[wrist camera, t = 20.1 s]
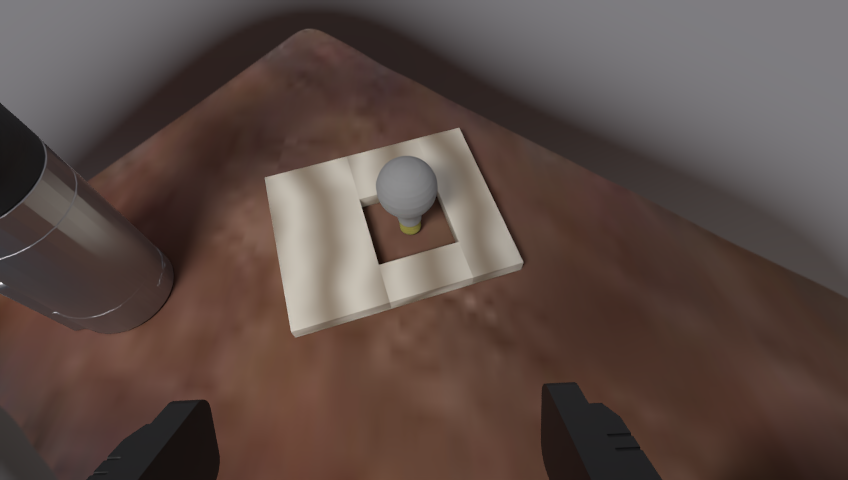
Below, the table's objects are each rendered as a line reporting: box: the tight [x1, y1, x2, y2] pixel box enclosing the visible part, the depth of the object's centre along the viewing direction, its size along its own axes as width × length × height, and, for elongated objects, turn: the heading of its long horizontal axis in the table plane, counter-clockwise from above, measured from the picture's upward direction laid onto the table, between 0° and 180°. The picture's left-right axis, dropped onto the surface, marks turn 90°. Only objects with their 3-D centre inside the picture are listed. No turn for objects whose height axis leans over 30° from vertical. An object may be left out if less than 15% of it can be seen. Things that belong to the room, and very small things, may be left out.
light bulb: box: [376, 156, 438, 235], centre depth 43 cm, size 5×6×10 cm
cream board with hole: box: [265, 128, 523, 337], centre depth 47 cm, size 22×18×2 cm
